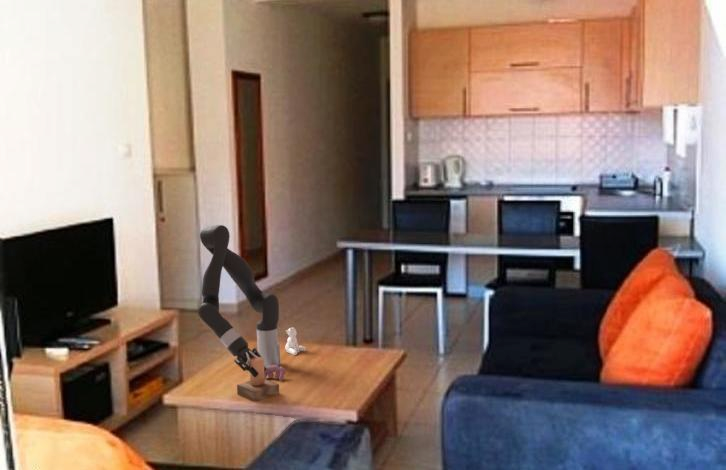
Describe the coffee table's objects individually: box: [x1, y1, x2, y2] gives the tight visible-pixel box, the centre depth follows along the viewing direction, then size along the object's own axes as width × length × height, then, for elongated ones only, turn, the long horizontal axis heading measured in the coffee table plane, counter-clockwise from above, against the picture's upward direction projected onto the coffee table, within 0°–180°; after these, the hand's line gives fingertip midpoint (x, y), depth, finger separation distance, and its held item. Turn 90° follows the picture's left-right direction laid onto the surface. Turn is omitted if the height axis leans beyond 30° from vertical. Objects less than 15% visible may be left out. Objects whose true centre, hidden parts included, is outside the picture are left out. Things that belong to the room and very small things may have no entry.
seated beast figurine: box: [284, 327, 306, 356], centre depth 359 cm, size 10×9×12 cm
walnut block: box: [236, 378, 280, 402], centre depth 302 cm, size 12×12×4 cm
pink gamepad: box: [264, 365, 287, 382], centre depth 321 cm, size 10×5×7 cm, turn 72°
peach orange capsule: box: [249, 357, 266, 386], centre depth 301 cm, size 6×6×10 cm
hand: (260, 373), depth 301 cm, fingers closed on peach orange capsule, 5 cm apart
